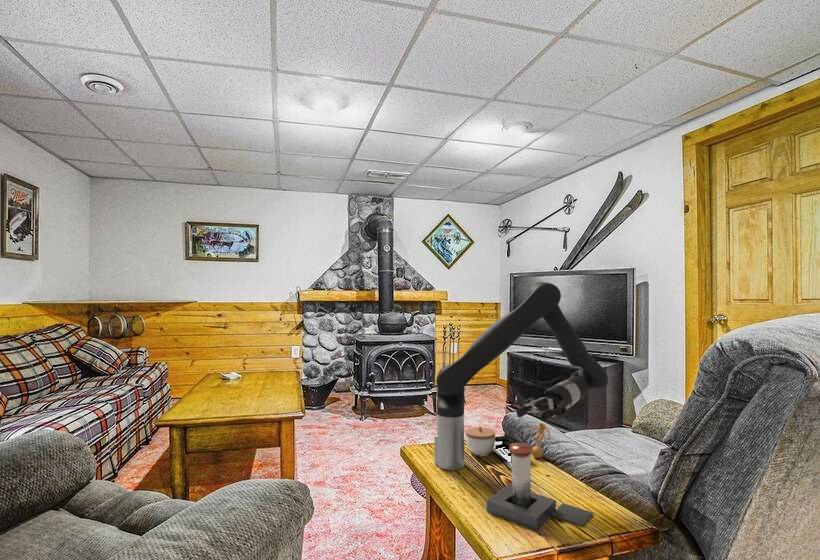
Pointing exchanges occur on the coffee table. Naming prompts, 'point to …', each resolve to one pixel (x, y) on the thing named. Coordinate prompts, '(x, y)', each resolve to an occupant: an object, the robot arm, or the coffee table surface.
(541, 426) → the figurine
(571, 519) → the mat
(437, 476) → the coffee table surface
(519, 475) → the capped metal cylinder
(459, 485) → the coffee table surface
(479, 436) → the lidded jar
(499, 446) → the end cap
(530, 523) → the bore housing
